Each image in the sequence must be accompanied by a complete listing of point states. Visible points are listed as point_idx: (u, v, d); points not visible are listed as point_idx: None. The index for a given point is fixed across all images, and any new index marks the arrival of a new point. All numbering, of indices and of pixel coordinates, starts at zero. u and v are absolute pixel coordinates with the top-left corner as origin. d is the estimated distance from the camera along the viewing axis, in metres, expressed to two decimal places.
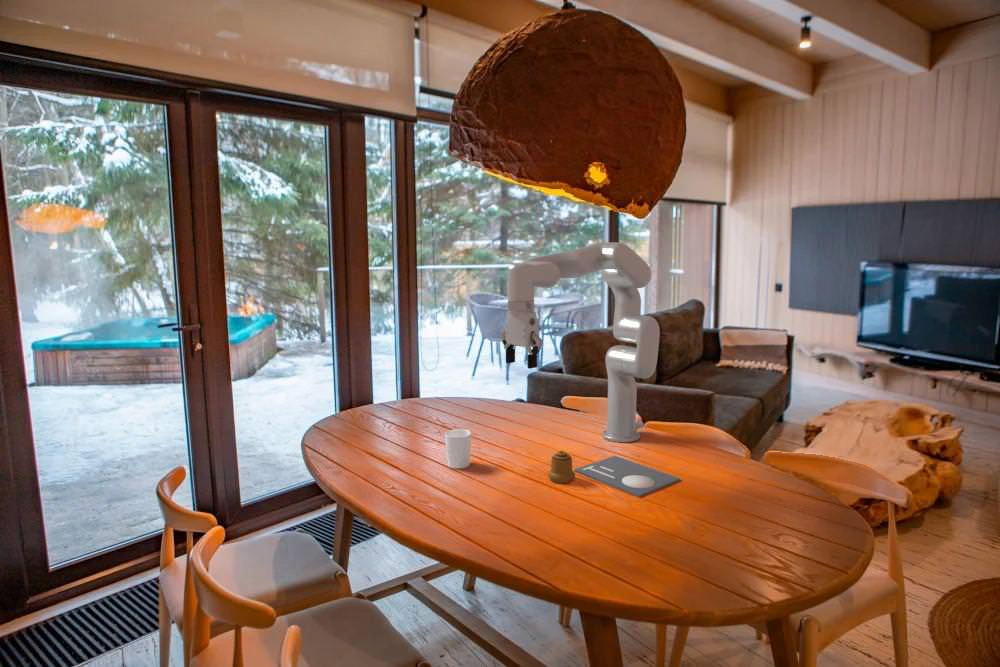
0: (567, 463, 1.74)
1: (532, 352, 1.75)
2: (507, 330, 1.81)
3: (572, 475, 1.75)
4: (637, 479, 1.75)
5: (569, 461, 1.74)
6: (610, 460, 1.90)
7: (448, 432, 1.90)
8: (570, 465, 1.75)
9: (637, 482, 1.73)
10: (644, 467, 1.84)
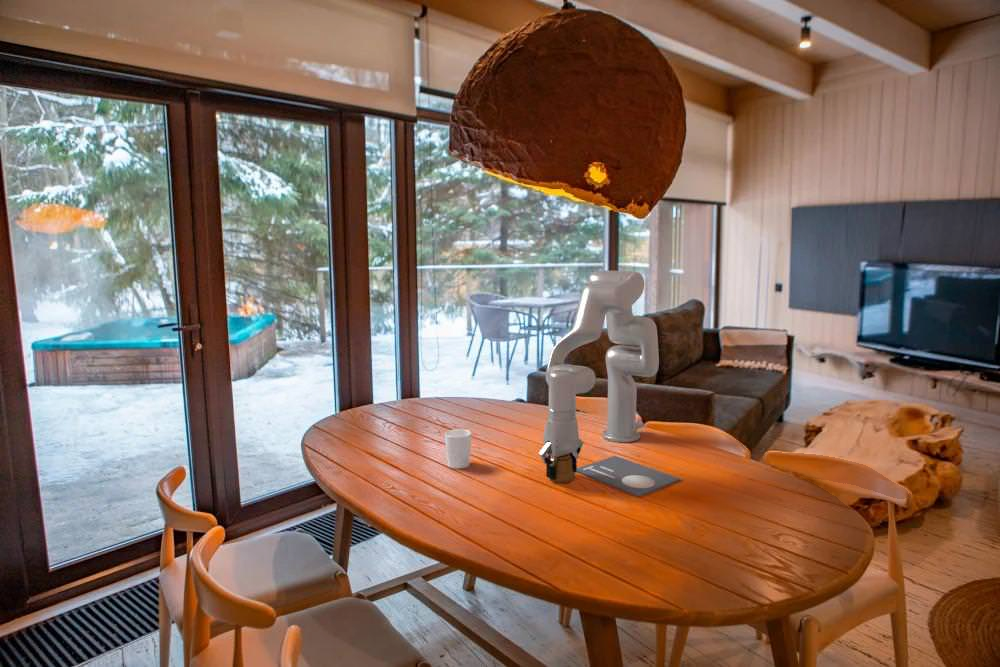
0: (567, 463, 1.74)
1: None
2: (558, 443, 1.72)
3: (572, 475, 1.75)
4: (637, 479, 1.75)
5: (569, 461, 1.74)
6: (610, 460, 1.90)
7: (448, 432, 1.90)
8: (570, 465, 1.75)
9: (637, 482, 1.73)
10: (644, 467, 1.84)
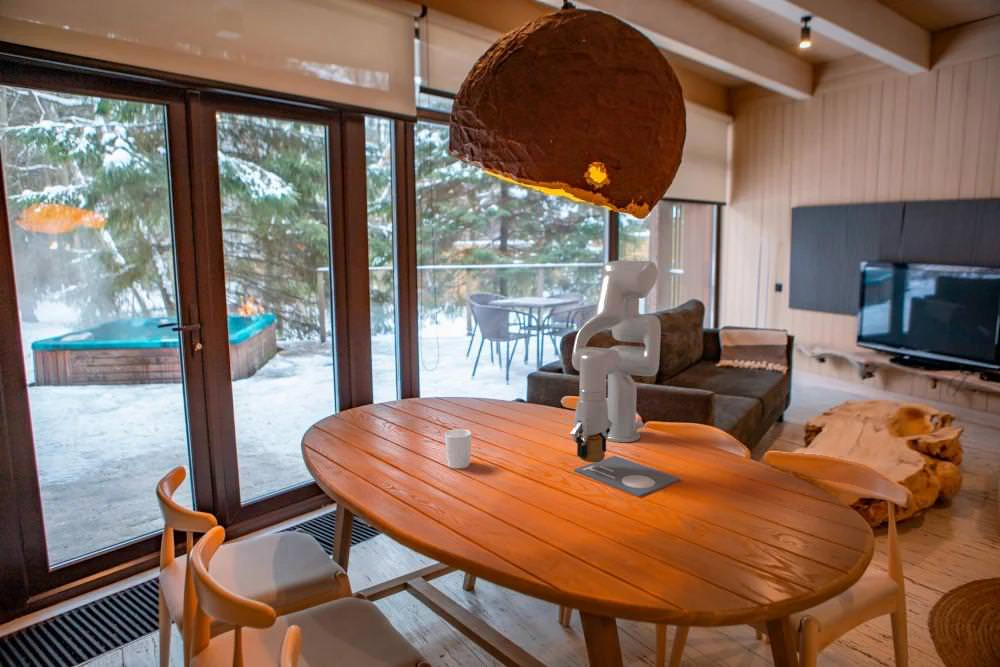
0: (598, 442, 1.79)
1: None
2: (589, 423, 1.77)
3: (602, 454, 1.80)
4: (637, 479, 1.75)
5: (599, 440, 1.80)
6: (610, 460, 1.90)
7: (448, 432, 1.90)
8: (600, 444, 1.80)
9: (637, 482, 1.73)
10: (644, 467, 1.84)
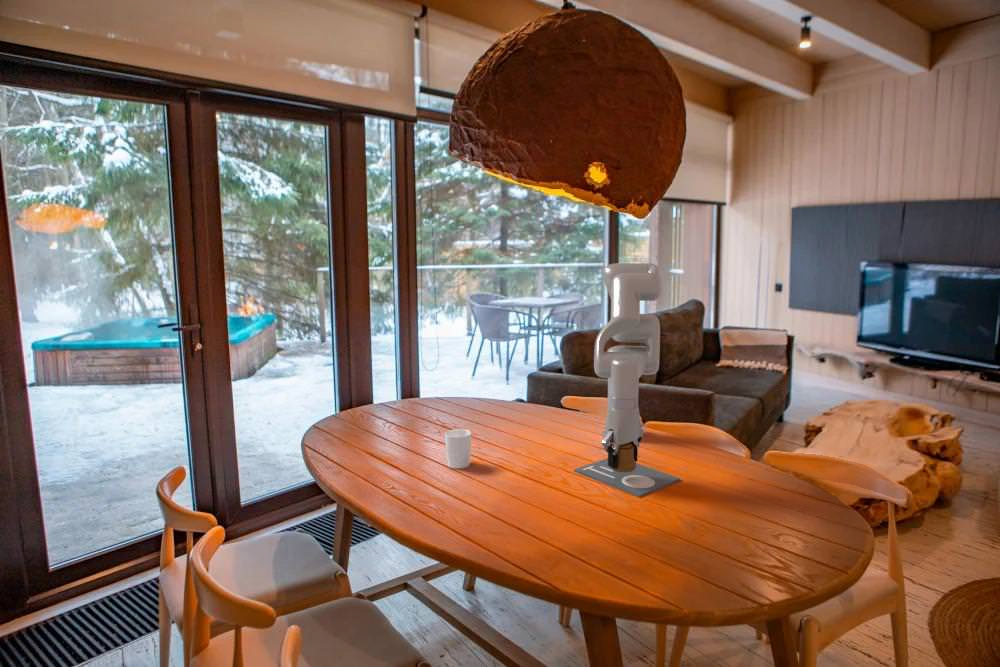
0: (630, 451, 1.72)
1: None
2: (621, 431, 1.69)
3: (634, 464, 1.73)
4: (637, 479, 1.75)
5: (631, 449, 1.72)
6: None
7: (448, 432, 1.90)
8: (632, 454, 1.73)
9: (637, 482, 1.73)
10: (644, 467, 1.84)
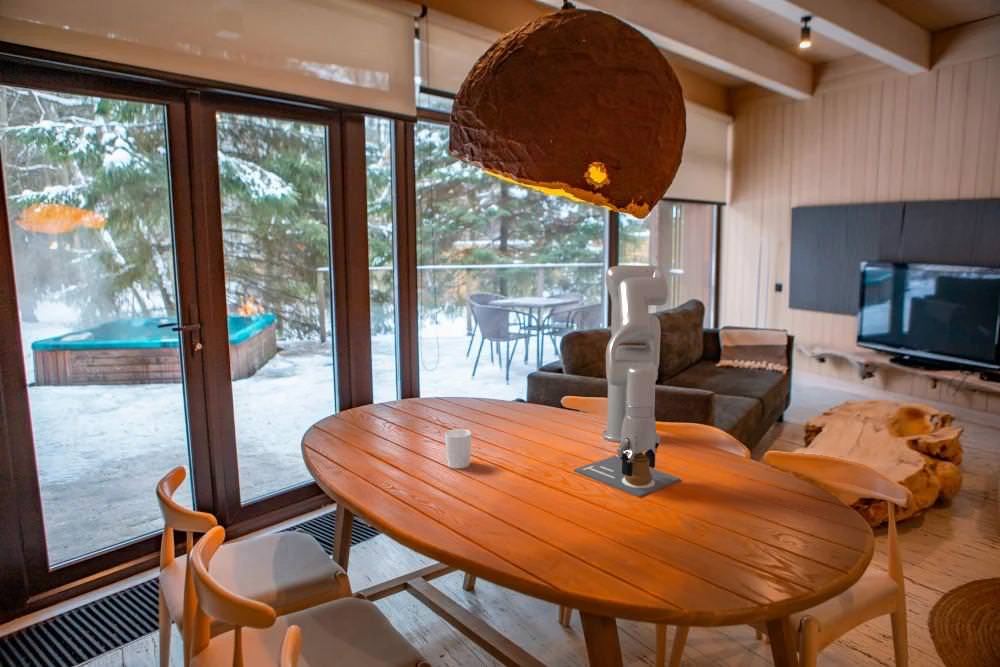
0: (646, 464, 1.70)
1: None
2: (637, 440, 1.68)
3: (650, 476, 1.71)
4: None
5: (647, 462, 1.71)
6: (610, 460, 1.90)
7: (448, 432, 1.90)
8: (648, 466, 1.71)
9: None
10: None
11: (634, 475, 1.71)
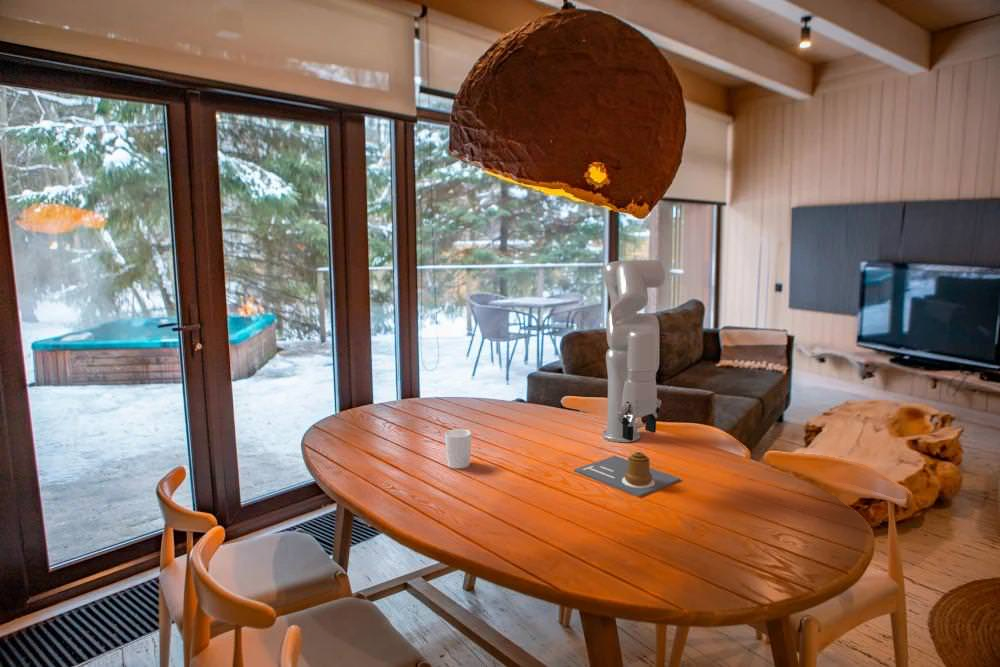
0: (646, 464, 1.70)
1: None
2: (638, 404, 1.66)
3: (650, 477, 1.71)
4: None
5: (647, 462, 1.71)
6: (610, 460, 1.90)
7: (448, 432, 1.90)
8: (648, 466, 1.71)
9: None
10: None
11: (634, 475, 1.71)
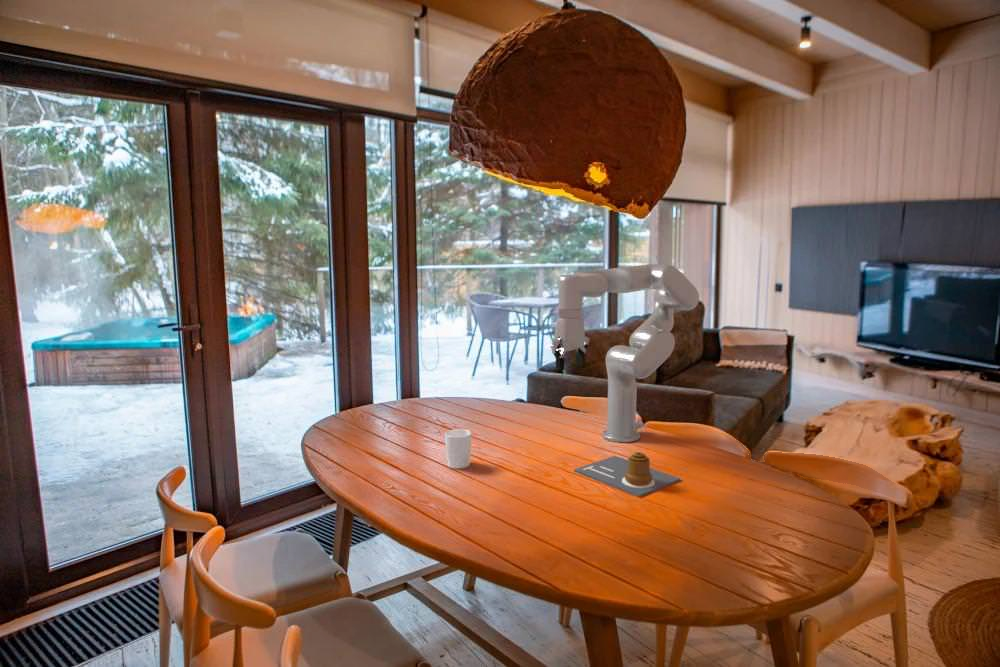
0: (646, 464, 1.70)
1: None
2: (568, 338, 1.94)
3: (650, 477, 1.71)
4: None
5: (647, 462, 1.71)
6: (610, 460, 1.90)
7: (448, 432, 1.90)
8: (648, 466, 1.71)
9: None
10: None
11: (634, 475, 1.71)
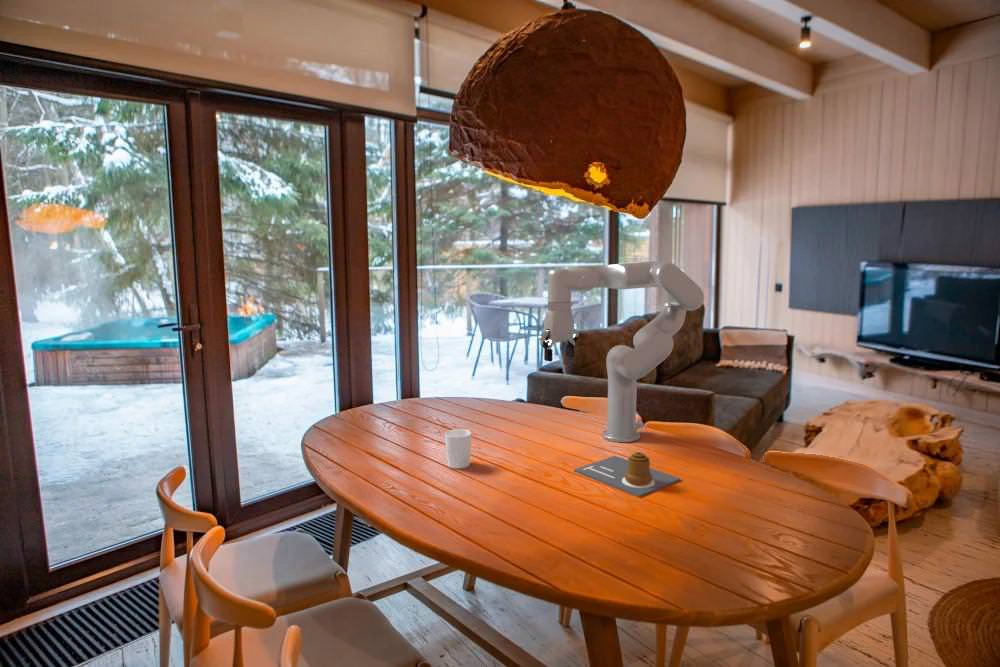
0: (646, 464, 1.70)
1: None
2: (556, 330, 2.00)
3: (650, 477, 1.71)
4: None
5: (647, 462, 1.71)
6: (610, 460, 1.90)
7: (448, 432, 1.90)
8: (648, 466, 1.71)
9: None
10: None
11: (634, 475, 1.71)
